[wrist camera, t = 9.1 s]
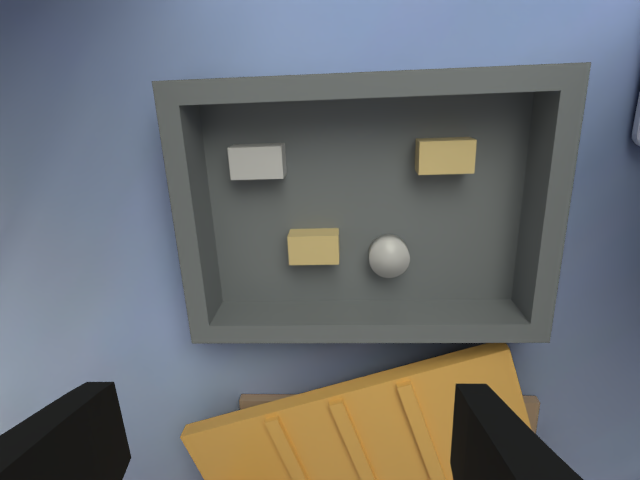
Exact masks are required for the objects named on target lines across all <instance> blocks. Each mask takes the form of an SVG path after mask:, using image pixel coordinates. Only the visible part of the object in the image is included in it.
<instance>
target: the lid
mask: <svg viewBox="0 0 640 480" xmlns="http://www.w3.org/2000/svg"><path fill="white" fill-rule="evenodd" d="M456 384H487V385H488V386H489V387H490V388H491V389H492V390H493V391H494V392H495V393H496V394H497V395H498V396H499V397H500V398H501V399H502V400H503V401H504V402H505V403H506V404H507V405H508V406H509V407H510V408H511V409H512V410H513V411H514V412H515V413H516V415H517V416H518V417H519V418H520V419H521V420H522V421H523V422H524V423H525V424H526V425H527V426H528V427H529V428H530V429H531V425H530V422H529V418H528V414H527V411H526V407H525V403H524V400H523V396H522V392H521V389H520V385H519V381H518V378H517V374H516V370H515V367H514V363H513V359H512V356H511V352H510V349H509V347H508V345H507V344H506V343H485V344H482V345H478V346H474V347H471V348H467V349H463V350H459V351H456V352H452V353H448V354H445V355H441V356H437V357H434V358H430V359H426V360H423V361H419V362H415V363H412V364H408V365H404V366H400V367H397V368H393V369H389V370H386V371H382V372H378V373H375V374H371V375H367V376H364V377H360V378H356V379H353V380H349V381H345V382H341V383H338V384H334V385H330V386H327V387H323V388H319V389H316V390H312V391H308V392H305V393H301V394H297V395H294V396H290V397H286V398H282V399H279V400H275V401H271V402H268V403H264V404H260V405H257V406H253V407H249V408H246V409H242V410H238V411H235V412H231V413H227V414H223V415H220V416H216V417H212V418H209V419H205V420H201V421H198V422H194V423H190V424H187V425H186V426H185V428H184V430H183V432H182V434H181V436H180V438H181V440H182V442H183V443H184V445H185V447H186V449H187V450H188V452H189V454H190V456H191V457H192V459H193V461H194V463H195V464H196V466H197V468H198V470H199V471H200V473H201V475H202V477H203V478H204V480H453V475H452V470H451V465H450V456H451V442H452V428H453V414H454V400H455V386H456ZM531 430H532V429H531Z"/></svg>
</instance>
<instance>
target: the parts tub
mask: <svg viewBox="0 0 640 480" xmlns="http://www.w3.org/2000/svg"><path fill="white" fill-rule="evenodd" d="M590 67H591V62H586V63H563V64H540V65H517V66H493V67H470V68H447V69H424V70H401V71H377V72H354V73H331V74H308V75H284V76H261V77H238V78H215V79H191V80H168V81H152V86H153V92H154V99H155V105H156V112H157V118H158V125H159V131H160V138H161V144H162V151H163V158H164V164H165V171H166V177H167V184H168V190H169V197H170V203H171V210H172V216H173V223H174V229H175V236H176V242H177V249H178V256H179V262H180V269H181V275H182V282H183V288H184V295H185V301H186V308H187V314H188V321H189V327H190V334H191V340H192V343H550V337H551V330H552V323H553V316H554V310H555V303H556V296H557V289H558V283H559V276H560V269H561V262H562V256H563V249H564V242H565V235H566V229H567V222H568V215H569V208H570V202H571V195H572V188H573V181H574V175H575V168H576V161H577V154H578V148H579V141H580V134H581V127H582V121H583V114H584V107H585V100H586V94H587V87H588V80H589V73H590Z"/></svg>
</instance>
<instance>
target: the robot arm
mask: <svg viewBox="0 0 640 480" xmlns="http://www.w3.org/2000/svg"><path fill="white" fill-rule="evenodd" d="M632 139H633V141H634V143H635V144H637V145H638V146H640V93H639V98H638V104H637V109H636V114H635V120H634V125H633V131H632ZM130 459H131V454H130V450H129V446H128V441H127V437H126V432H125V428H124V423H123V419H122V415H121V410H120V406H119V401H118V397H117V392H116V388H115V384H114V382H86V383H84V384H82V385H81V386H79V387H77V388H75V389H73V390H72V391H70V392H68V393H67V394H65V395H63V396H62V397H60V398H59V399H57V400H55V401H54V402H52V403H51V404H49V405H47V406H46V407H44V408H43V409H41V410H40V411H38V412H37V413H35V414H33V415H32V416H30V417H29V418H27V419H26V420H24V421H23V422H21V423H19V424H18V425H16V426H15V427H13V428H12V429H10V430H8V431H7V432H5V433H4V434H2V435H1V436H0V480H122V479H123V477H124V474H125V472H126V469H127V467H128V464H129V462H130ZM450 465H451V470H452V475H453V480H583V479H582V478H581V477H580V476H579V475H578V474H577V473H576V472H574V471H573V470H572V469H571V468H570V467H569V466H568V465H567V464H566V463H565V462H564V461H563V460H562V459H561V458H560V457H559V456H558V455H557V454H556V453H555V452H554V451H552V450H551V449H550V448H549V447H548V446H547V445H546V444H545V443H544V442H543V441H542V440H541V439H540V438H539V437H538V436H537V435H536V434H535V433H534V432H533V431H532V430H531V429H530V428H529V427H528V426H527V425H526V424H525V423H524V422H523V421H522V420H521V419H520V418H519V417H518V416H517V415H516V413H515V412H514V411H513V410H512V409H511V408H510V407H509V406H508V405H507V404H506V403H505V402H504V401H503V400H502V399H501V398H500V397H499V396H498V395H497V394H496V393H495V392H494V391H493V390H492V389H491V388H490V387H489V386H488V385H487V384H456V386H455V400H454V414H453V428H452V442H451V456H450Z"/></svg>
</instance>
